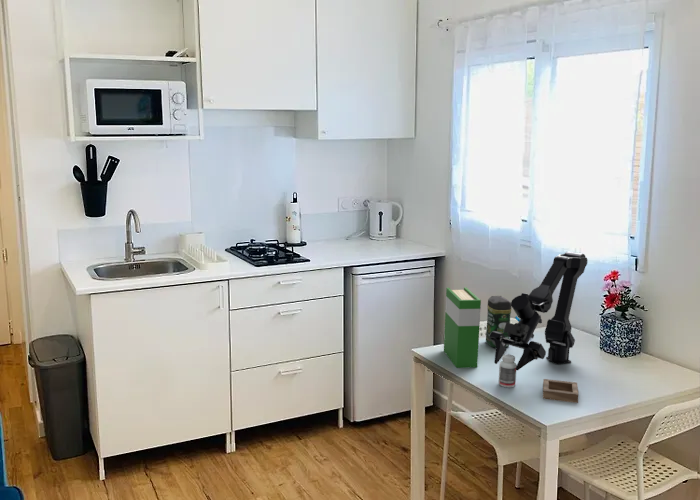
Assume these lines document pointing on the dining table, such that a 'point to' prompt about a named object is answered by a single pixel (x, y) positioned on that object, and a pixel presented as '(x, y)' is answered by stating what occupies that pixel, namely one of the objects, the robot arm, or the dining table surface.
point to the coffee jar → (497, 316)
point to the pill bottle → (507, 371)
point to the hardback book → (462, 327)
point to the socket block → (560, 390)
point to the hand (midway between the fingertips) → (505, 366)
